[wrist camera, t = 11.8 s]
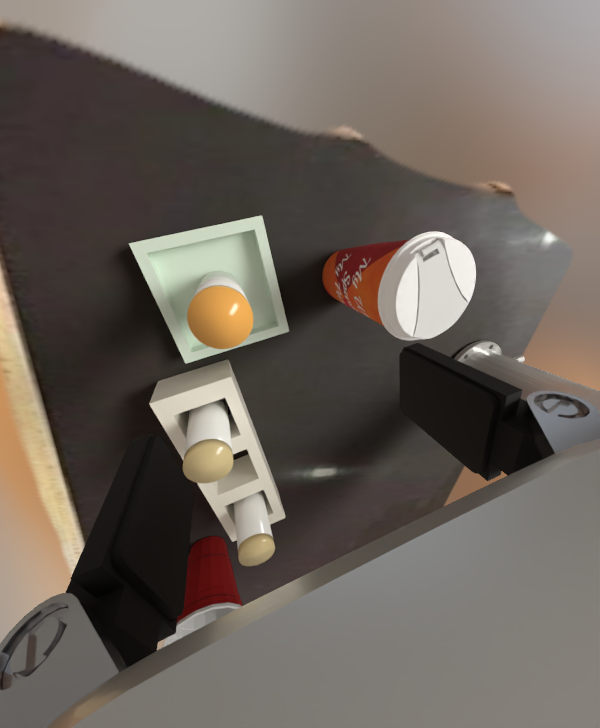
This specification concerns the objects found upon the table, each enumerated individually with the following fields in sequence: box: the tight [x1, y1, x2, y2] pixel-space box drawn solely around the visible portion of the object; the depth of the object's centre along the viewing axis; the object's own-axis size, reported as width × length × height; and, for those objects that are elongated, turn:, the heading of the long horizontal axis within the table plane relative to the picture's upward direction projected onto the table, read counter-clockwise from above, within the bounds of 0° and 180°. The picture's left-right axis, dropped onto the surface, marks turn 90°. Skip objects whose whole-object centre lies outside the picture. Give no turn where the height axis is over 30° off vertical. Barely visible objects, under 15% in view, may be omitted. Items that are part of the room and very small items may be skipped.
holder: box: [149, 359, 286, 542], centre depth 34 cm, size 8×26×5 cm, turn 12°
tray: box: [129, 216, 289, 364], centre depth 27 cm, size 12×12×2 cm
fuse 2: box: [233, 490, 275, 566], centre depth 35 cm, size 4×4×11 cm
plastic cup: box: [162, 536, 243, 648], centre depth 38 cm, size 11×11×12 cm
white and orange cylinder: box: [187, 270, 253, 349], centre depth 22 cm, size 4×4×11 cm
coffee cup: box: [322, 232, 476, 340], centre depth 25 cm, size 8×8×15 cm
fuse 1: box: [183, 398, 233, 483], centre depth 28 cm, size 4×4×11 cm
